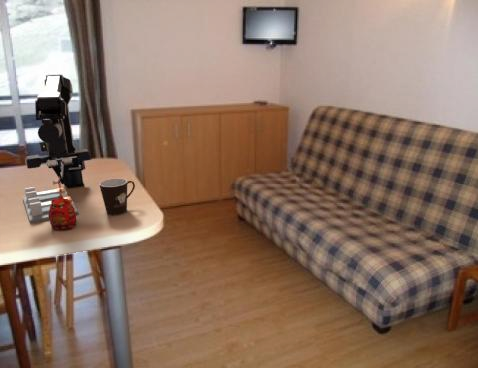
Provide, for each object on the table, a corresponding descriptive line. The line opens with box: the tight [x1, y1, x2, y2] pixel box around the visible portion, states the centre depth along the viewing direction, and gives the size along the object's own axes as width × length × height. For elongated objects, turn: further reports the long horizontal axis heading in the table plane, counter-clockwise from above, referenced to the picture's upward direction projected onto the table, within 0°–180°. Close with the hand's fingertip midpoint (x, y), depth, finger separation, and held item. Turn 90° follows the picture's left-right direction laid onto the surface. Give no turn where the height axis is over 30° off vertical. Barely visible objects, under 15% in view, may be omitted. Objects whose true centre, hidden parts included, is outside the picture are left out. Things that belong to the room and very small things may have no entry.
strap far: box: [36, 186, 67, 197], centre depth 141 cm, size 11×4×1 cm, turn 122°
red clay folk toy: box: [48, 176, 78, 231], centre depth 119 cm, size 8×7×15 cm
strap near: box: [41, 195, 73, 208], centre depth 131 cm, size 11×4×1 cm, turn 122°
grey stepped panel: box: [22, 186, 79, 224], centre depth 136 cm, size 14×24×5 cm, turn 32°
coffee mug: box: [99, 177, 136, 216], centre depth 131 cm, size 12×9×10 cm
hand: (62, 183), depth 131 cm, fingers closed
